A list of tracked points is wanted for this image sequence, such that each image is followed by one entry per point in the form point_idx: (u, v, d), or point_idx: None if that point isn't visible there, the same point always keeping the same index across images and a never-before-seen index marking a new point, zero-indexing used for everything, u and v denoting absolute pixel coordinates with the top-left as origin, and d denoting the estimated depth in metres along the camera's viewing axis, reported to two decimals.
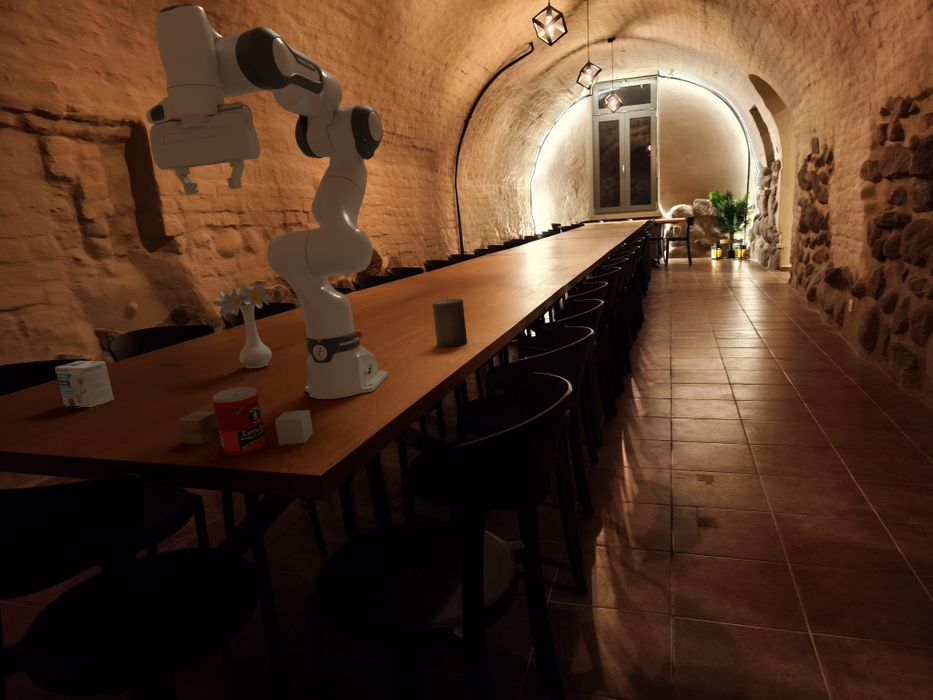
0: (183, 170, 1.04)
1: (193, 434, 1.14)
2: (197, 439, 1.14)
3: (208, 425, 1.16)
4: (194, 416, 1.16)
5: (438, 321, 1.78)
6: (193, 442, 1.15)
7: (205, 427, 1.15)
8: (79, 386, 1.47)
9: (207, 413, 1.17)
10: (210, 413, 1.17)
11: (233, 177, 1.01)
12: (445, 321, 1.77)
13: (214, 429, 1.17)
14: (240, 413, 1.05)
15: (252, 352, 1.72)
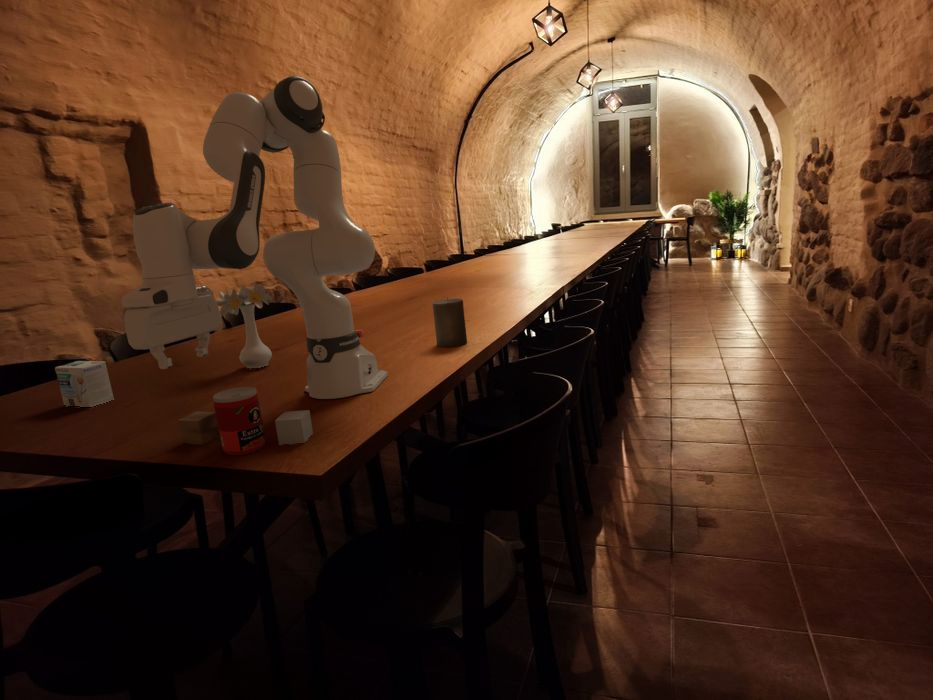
0: None
1: (193, 434, 1.14)
2: (198, 439, 1.14)
3: (208, 425, 1.16)
4: (193, 416, 1.16)
5: (438, 321, 1.78)
6: (193, 442, 1.15)
7: (205, 427, 1.15)
8: (79, 386, 1.47)
9: (207, 413, 1.17)
10: (210, 413, 1.17)
11: None
12: (445, 321, 1.77)
13: (214, 429, 1.17)
14: (240, 413, 1.05)
15: (252, 352, 1.72)
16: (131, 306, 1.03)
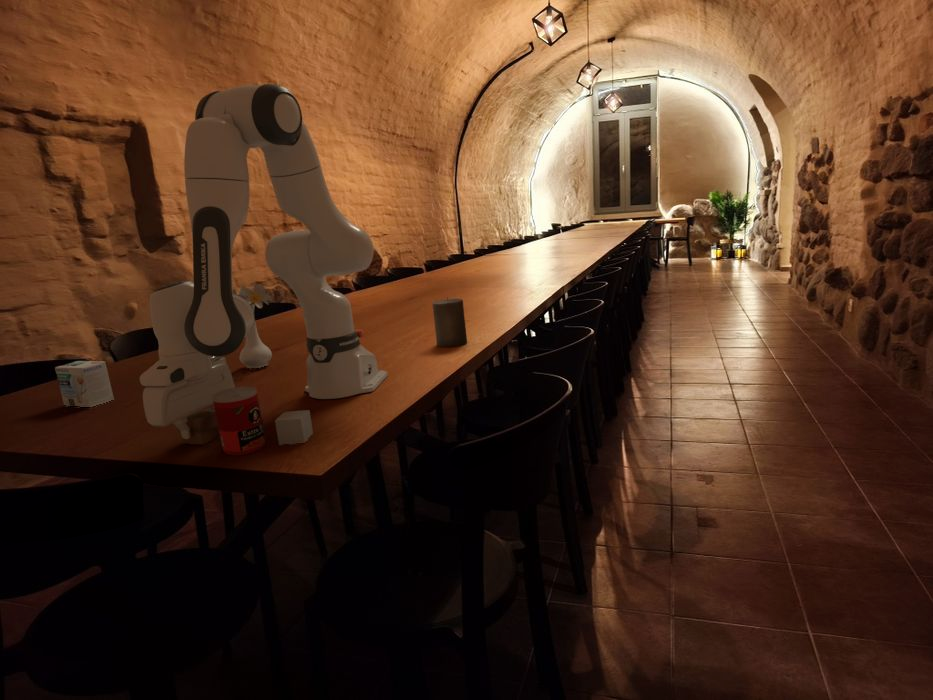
0: None
1: None
2: (197, 438, 1.14)
3: (208, 425, 1.16)
4: (193, 415, 1.16)
5: (438, 321, 1.78)
6: (193, 442, 1.15)
7: (205, 427, 1.15)
8: (79, 386, 1.47)
9: (207, 412, 1.17)
10: (210, 413, 1.17)
11: None
12: (445, 321, 1.77)
13: (214, 428, 1.17)
14: (240, 413, 1.05)
15: (252, 352, 1.72)
16: (149, 385, 1.06)
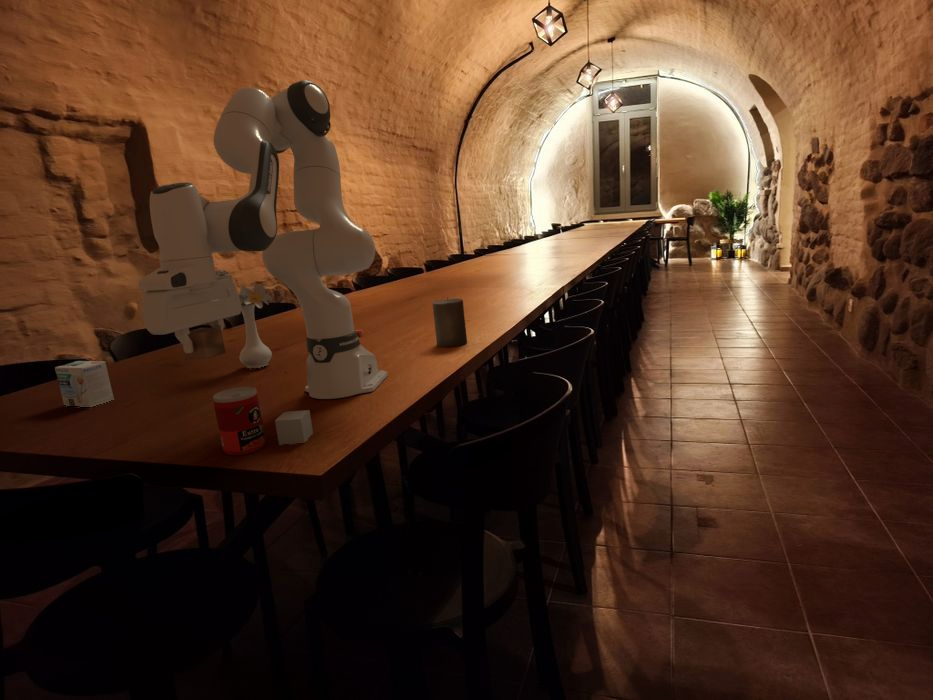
0: None
1: None
2: (201, 353, 1.07)
3: (212, 340, 1.08)
4: (197, 330, 1.09)
5: (438, 321, 1.78)
6: (196, 357, 1.07)
7: (208, 341, 1.07)
8: (79, 386, 1.47)
9: (211, 328, 1.10)
10: (214, 328, 1.10)
11: None
12: (445, 321, 1.77)
13: (218, 345, 1.09)
14: (240, 413, 1.05)
15: (252, 352, 1.72)
16: (148, 289, 0.99)
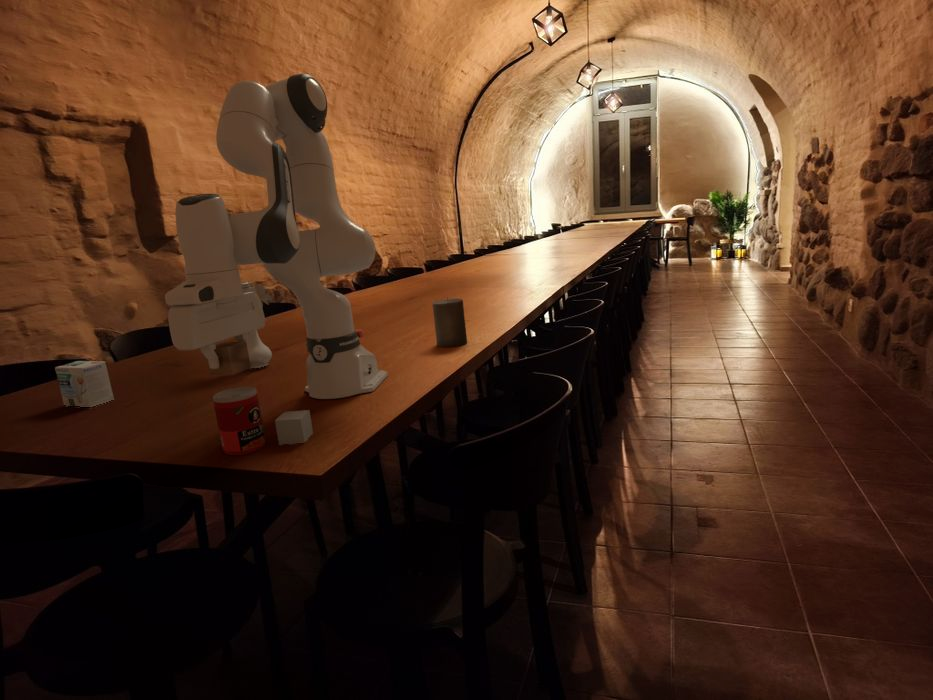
0: None
1: None
2: (227, 368, 1.04)
3: (238, 355, 1.05)
4: (222, 345, 1.06)
5: (438, 321, 1.79)
6: (222, 373, 1.04)
7: (234, 356, 1.04)
8: (79, 386, 1.47)
9: (236, 342, 1.07)
10: (240, 342, 1.07)
11: None
12: (445, 320, 1.77)
13: (244, 359, 1.07)
14: (240, 413, 1.05)
15: (252, 352, 1.72)
16: (175, 304, 0.96)
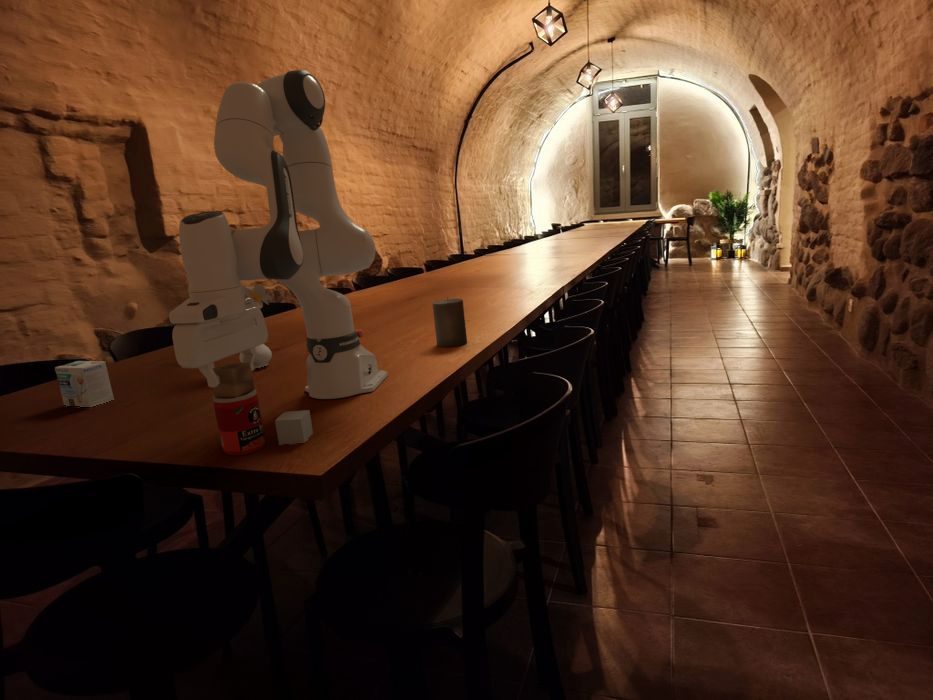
0: None
1: (226, 386, 1.05)
2: (231, 390, 1.05)
3: (242, 376, 1.06)
4: (226, 366, 1.07)
5: (438, 321, 1.78)
6: (226, 394, 1.05)
7: (238, 378, 1.05)
8: (79, 386, 1.47)
9: (240, 364, 1.08)
10: (243, 364, 1.08)
11: (252, 362, 1.11)
12: (445, 321, 1.77)
13: (248, 381, 1.08)
14: (240, 413, 1.05)
15: None
16: (179, 322, 0.97)
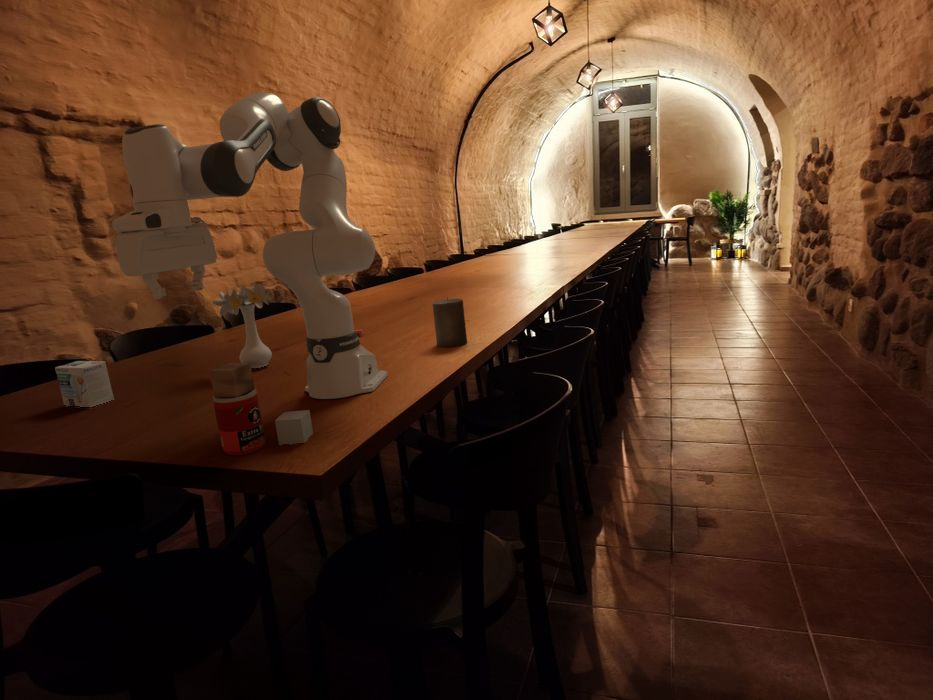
0: None
1: (226, 386, 1.05)
2: (231, 390, 1.05)
3: (242, 376, 1.06)
4: (226, 366, 1.07)
5: (438, 321, 1.79)
6: (226, 394, 1.05)
7: (239, 378, 1.05)
8: (79, 386, 1.47)
9: (240, 364, 1.08)
10: (244, 364, 1.08)
11: (201, 280, 1.13)
12: (445, 321, 1.77)
13: (248, 381, 1.08)
14: (240, 414, 1.05)
15: (252, 352, 1.72)
16: (122, 230, 0.98)
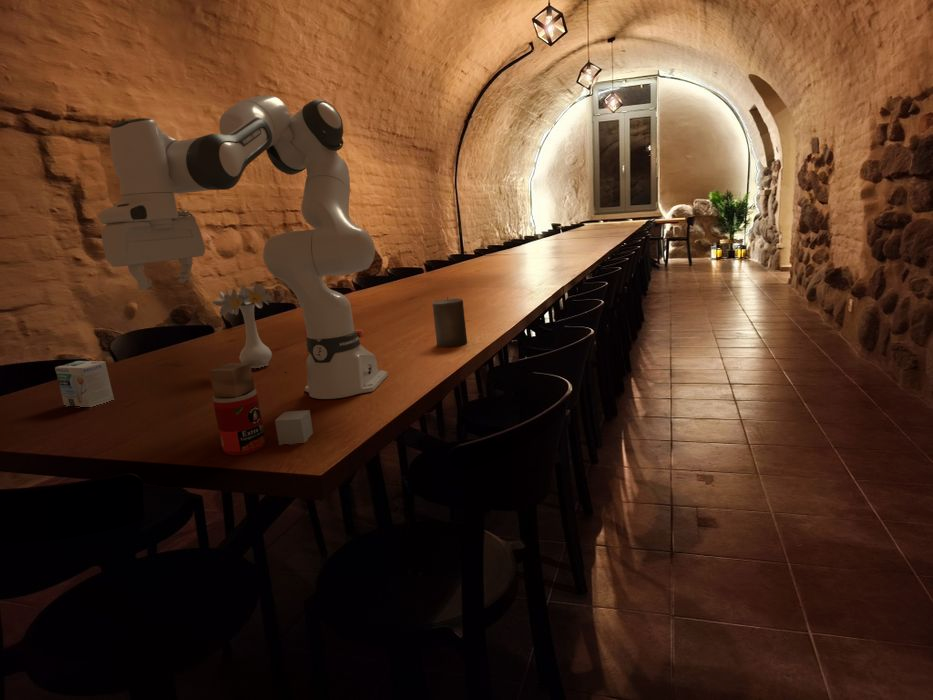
0: None
1: (226, 386, 1.05)
2: (231, 390, 1.05)
3: (242, 376, 1.06)
4: (226, 366, 1.07)
5: (438, 321, 1.79)
6: (226, 394, 1.05)
7: (239, 378, 1.05)
8: (79, 386, 1.47)
9: (240, 364, 1.08)
10: (244, 364, 1.08)
11: (189, 272, 1.15)
12: (445, 321, 1.77)
13: (248, 381, 1.08)
14: (240, 414, 1.05)
15: (252, 352, 1.72)
16: (108, 221, 1.00)
